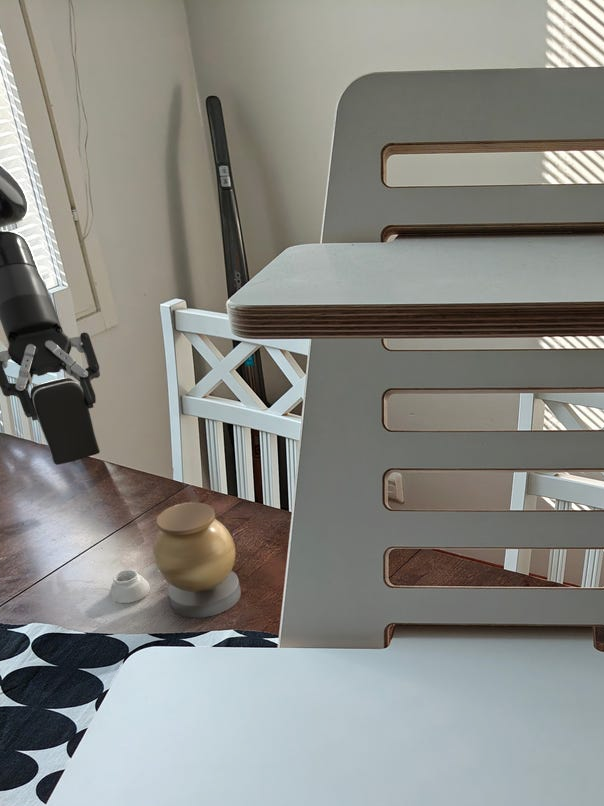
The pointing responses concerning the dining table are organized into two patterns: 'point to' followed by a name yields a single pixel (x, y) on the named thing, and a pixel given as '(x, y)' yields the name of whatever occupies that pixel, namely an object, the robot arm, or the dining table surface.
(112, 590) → the lidless jar
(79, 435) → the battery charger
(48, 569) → the dining table surface
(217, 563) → the lidded jar
